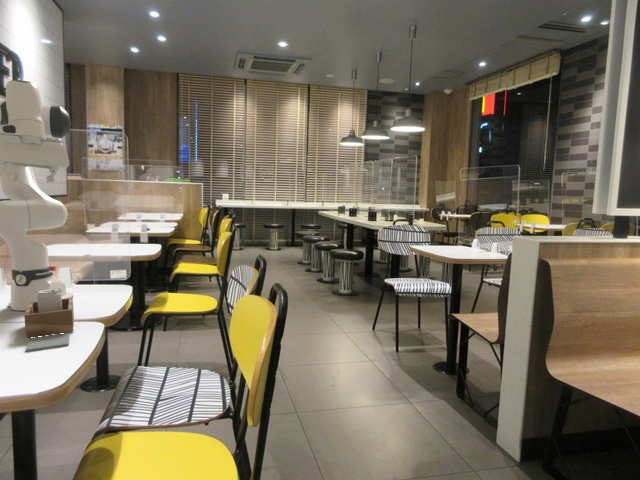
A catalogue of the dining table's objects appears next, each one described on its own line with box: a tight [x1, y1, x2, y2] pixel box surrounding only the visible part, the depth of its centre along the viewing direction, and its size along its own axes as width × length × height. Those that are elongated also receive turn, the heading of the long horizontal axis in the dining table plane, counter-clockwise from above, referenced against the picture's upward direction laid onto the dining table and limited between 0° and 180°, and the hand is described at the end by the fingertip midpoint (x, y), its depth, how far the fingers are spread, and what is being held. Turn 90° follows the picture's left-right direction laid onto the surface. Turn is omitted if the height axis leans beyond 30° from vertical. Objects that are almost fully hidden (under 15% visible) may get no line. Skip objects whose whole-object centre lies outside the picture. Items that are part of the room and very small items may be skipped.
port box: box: [23, 297, 75, 339], centre depth 138 cm, size 16×12×7 cm
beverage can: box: [37, 289, 62, 313], centre depth 137 cm, size 6×6×12 cm
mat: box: [25, 333, 70, 353], centre depth 125 cm, size 10×10×1 cm
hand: (33, 181), depth 126 cm, fingers open, 8 cm apart
